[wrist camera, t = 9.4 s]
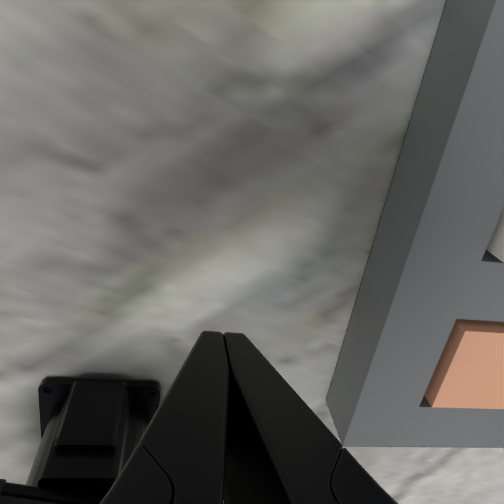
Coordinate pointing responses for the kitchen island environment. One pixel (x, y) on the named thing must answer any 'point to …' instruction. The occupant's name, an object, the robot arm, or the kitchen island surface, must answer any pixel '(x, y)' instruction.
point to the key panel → (432, 249)
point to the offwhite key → (497, 239)
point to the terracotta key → (470, 367)
